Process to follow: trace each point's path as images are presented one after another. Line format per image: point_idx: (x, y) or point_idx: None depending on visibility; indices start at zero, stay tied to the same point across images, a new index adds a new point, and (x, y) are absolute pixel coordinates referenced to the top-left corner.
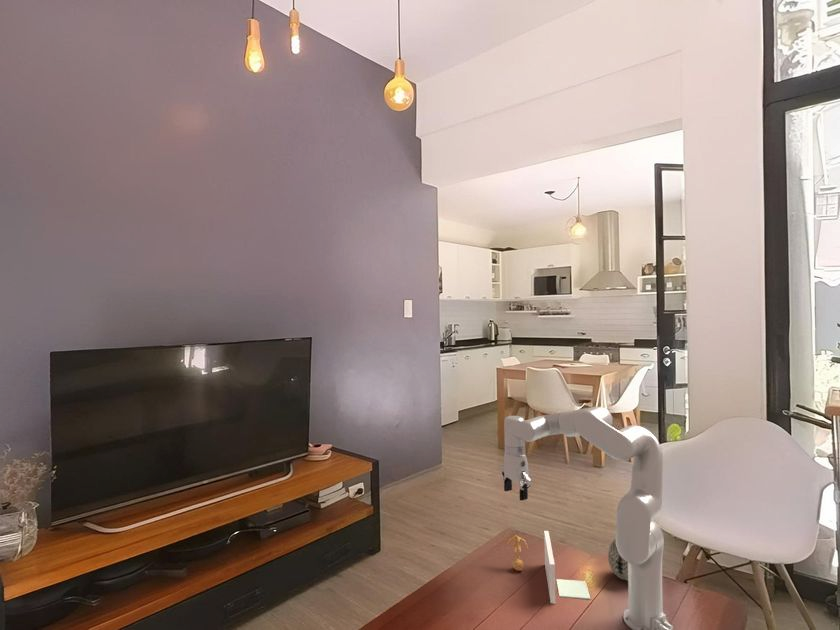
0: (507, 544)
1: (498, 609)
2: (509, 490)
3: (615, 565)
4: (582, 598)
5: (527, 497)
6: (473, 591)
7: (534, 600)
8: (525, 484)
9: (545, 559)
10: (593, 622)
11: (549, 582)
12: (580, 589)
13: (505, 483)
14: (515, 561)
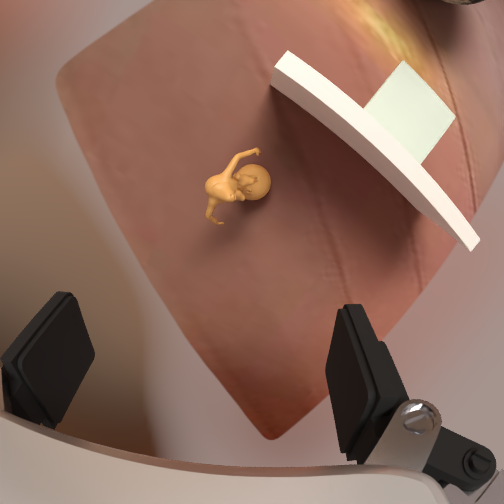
0: (215, 221)
1: None
2: (82, 318)
3: (462, 1)
4: (445, 130)
5: (364, 313)
6: (278, 329)
7: (388, 234)
8: (454, 501)
9: (302, 102)
10: (493, 181)
11: (422, 209)
12: (423, 104)
13: (65, 409)
14: (253, 196)
